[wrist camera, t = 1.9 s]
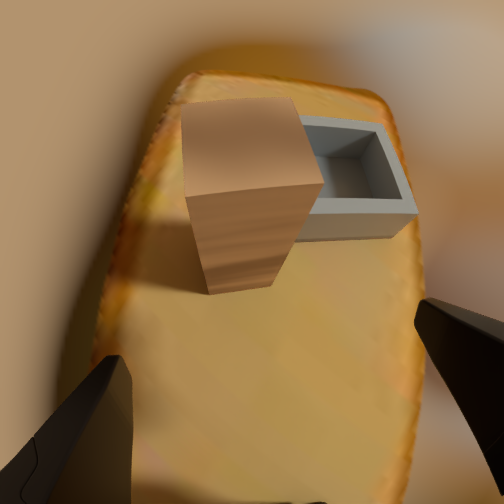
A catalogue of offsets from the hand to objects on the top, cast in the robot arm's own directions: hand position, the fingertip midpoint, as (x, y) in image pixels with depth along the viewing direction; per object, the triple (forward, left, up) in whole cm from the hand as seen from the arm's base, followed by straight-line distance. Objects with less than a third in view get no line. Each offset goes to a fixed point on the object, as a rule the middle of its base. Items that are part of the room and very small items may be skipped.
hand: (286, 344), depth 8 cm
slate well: (+13, -8, -13) cm, 20 cm away
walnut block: (+7, +1, -13) cm, 14 cm away
